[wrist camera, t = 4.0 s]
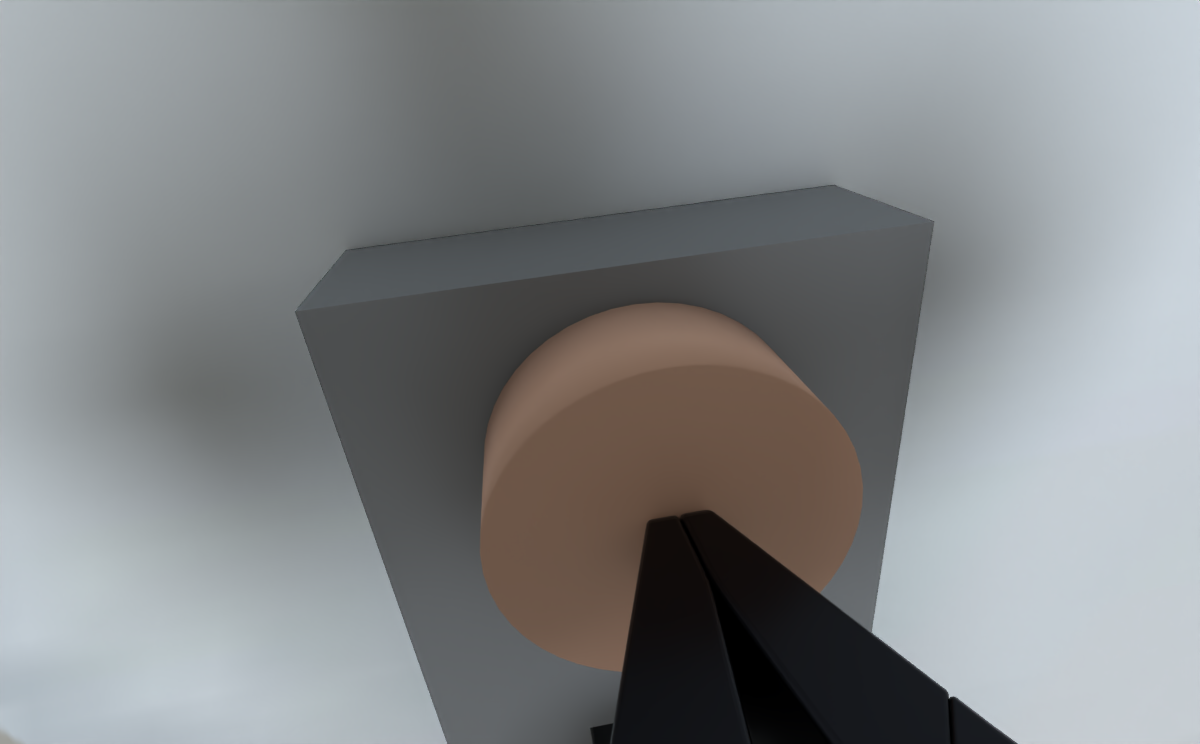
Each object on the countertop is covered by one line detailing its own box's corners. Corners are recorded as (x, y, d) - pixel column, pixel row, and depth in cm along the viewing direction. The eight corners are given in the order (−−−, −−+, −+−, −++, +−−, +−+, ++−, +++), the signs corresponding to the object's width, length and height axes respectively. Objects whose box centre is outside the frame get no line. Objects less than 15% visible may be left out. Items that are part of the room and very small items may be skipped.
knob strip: (785, 838, 22) (823, 944, 19) (536, 893, 21) (541, 1011, 19) (834, 184, 12) (933, 221, 9) (345, 250, 11) (294, 311, 8)
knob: (733, 448, 14) (846, 636, 9) (511, 485, 13) (515, 701, 9) (733, 227, 11) (883, 334, 7) (465, 264, 11) (439, 402, 7)
